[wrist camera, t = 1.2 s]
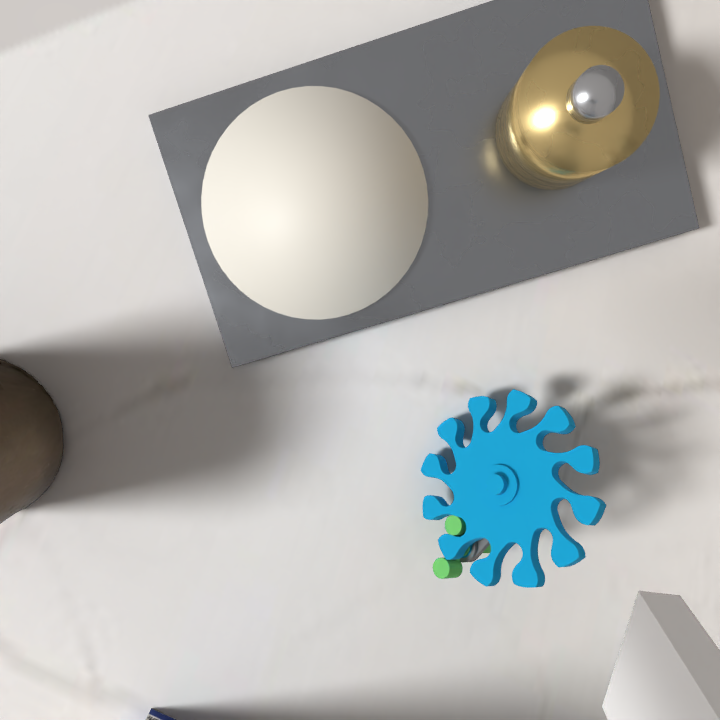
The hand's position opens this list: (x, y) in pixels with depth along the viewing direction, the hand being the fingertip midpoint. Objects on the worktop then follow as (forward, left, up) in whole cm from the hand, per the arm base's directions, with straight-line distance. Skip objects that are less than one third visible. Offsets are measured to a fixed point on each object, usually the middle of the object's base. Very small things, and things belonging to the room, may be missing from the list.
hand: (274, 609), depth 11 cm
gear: (-10, +1, -23) cm, 25 cm away
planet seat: (+6, -8, -21) cm, 24 cm away
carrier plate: (+2, -12, -23) cm, 26 cm away
